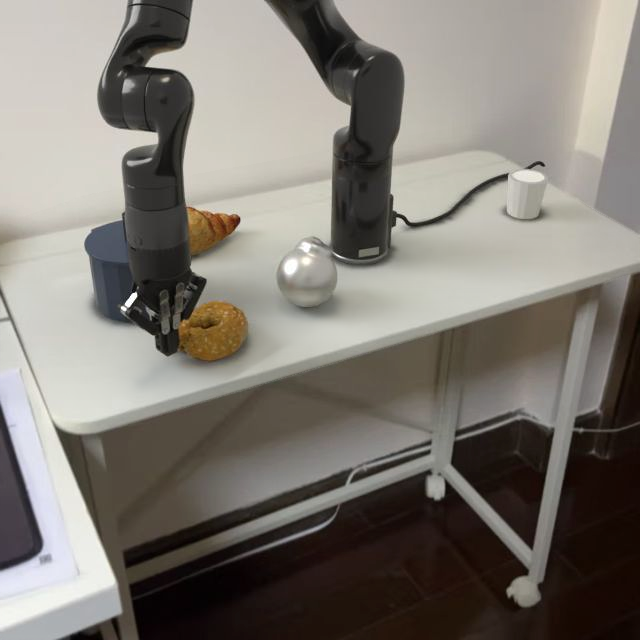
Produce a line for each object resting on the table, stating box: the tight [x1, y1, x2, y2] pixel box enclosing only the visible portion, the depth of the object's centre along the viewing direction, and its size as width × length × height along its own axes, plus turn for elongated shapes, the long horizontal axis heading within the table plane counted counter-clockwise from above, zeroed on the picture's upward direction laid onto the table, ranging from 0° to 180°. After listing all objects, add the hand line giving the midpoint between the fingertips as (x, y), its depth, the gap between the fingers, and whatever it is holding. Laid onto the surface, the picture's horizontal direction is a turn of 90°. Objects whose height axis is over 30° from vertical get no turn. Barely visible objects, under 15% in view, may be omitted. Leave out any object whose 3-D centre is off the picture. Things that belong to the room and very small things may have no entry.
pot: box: [88, 224, 150, 324], centre depth 126 cm, size 13×18×10 cm
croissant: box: [186, 205, 242, 256], centre depth 141 cm, size 21×10×8 cm, turn 123°
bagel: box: [177, 300, 249, 362], centre depth 118 cm, size 10×11×5 cm
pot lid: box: [83, 211, 129, 266], centre depth 122 cm, size 14×14×5 cm
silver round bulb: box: [276, 235, 338, 308], centre depth 126 cm, size 9×10×10 cm
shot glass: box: [506, 168, 549, 220], centre depth 153 cm, size 7×7×7 cm
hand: (168, 352), depth 114 cm, fingers closed
